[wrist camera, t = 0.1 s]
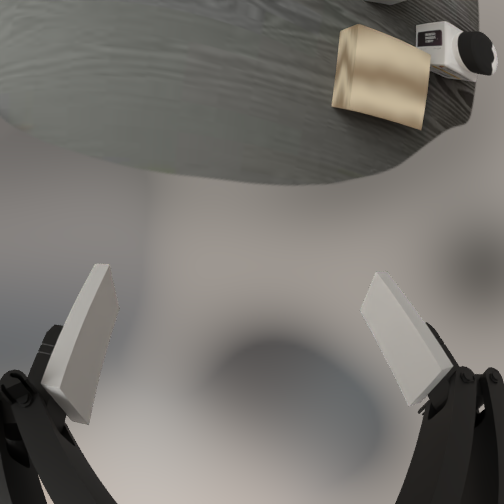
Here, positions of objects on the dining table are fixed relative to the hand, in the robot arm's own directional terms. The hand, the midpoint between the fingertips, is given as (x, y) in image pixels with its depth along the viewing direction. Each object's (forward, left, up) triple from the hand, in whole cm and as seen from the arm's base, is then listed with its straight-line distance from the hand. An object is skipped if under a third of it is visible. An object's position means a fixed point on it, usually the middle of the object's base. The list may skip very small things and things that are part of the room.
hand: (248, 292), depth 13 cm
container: (-24, +31, -28) cm, 48 cm away
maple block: (-15, +20, -28) cm, 38 cm away
